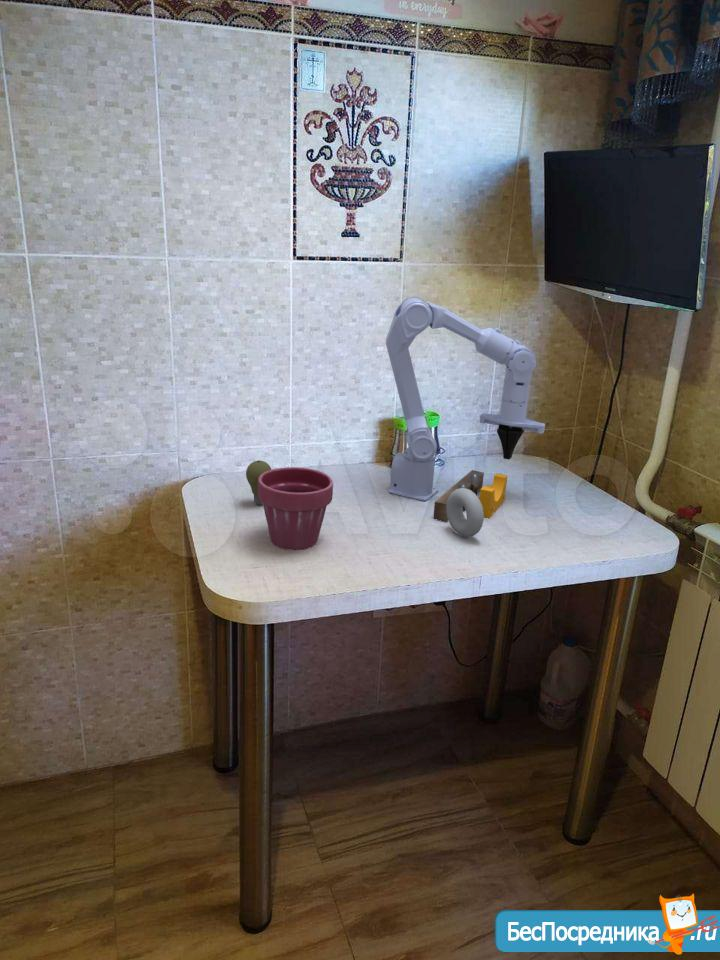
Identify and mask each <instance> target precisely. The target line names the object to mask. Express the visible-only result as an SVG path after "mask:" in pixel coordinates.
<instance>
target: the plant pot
mask: <svg viewBox="0 0 720 960" xmlns="http://www.w3.org/2000/svg"><path fill="white" fill-rule="evenodd" d="M333 491H334V481H333V478H331V476H330V475H328V474H327V473H325V472H323V471H320V470H317V469H313V468H307V467H299V466H298V467H297V466H296V467H295V466H289V467H280V468H279V467H277V468H273V469H272V470H269V471H266V472H264V473H263V474H261V475H260V476H259V479H258V499H259V500H260V501H261V502H262V503H263V504H262V507H263V510H264V516H265V520H266V524H267V528H268V531H269V532H268V533H269V538H270V542H271V543H272V545H274V546H275V547H277V548H279V549H282V550H286V551H287V550H288V551H302V550H307V549H309V548H312V547H314V546H315V545H316V544H317V543H318V539H319V537H320V532H321V529H322V525H323V522H324V518H325V514H326V509H327V506H328V505H329V504H331V502H332V501H333V497H334V496H333V495H334V492H333Z"/></svg>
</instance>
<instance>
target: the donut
mask: <svg viewBox="0 0 720 960" xmlns="http://www.w3.org/2000/svg"><path fill="white" fill-rule="evenodd" d="M463 506H464V508H465V513H466V517H465V515H464V512H463ZM446 513H447V518H448V521H447V522H448V523H449V526H450V527H451V529H452V530H453V531H454V532H455V533H456V534H457V535H458V536H461V537H464V538H471V537H474V536H476V535H477V534H478V533H479V532H480V531H481V530H482V527H483V524H484V519H485V518H484V512H483V507H482V504H481V502H480V500H479V496H478V495H477V496H476V494H475V493H473V492H472V491H471V490H469V489H465V488H460V489H456V490H455V491H453V492H452V493H451V494H450V496H449V498H448V500H447V505H446Z"/></svg>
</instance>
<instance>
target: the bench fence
mask: <svg viewBox="0 0 720 960" xmlns="http://www.w3.org/2000/svg"><path fill="white" fill-rule="evenodd" d="M484 475H485V472H482V471H477V470H473V469H472V470H470V471H469V472H468V473H467V474H466V475H464V476H463V477H462V478H461V479H459V480H458V481H457V482H456V483H455V484H454V485H453V486H451V487H450V488H448V490H446V491H445V492H444V493H443V494H442V495H441V496H440V497H438V498H437V499H436V500H435V501H434V506H433V520H435V519H437V521H440V520H441V521H440V522H444V521H445V523H447V522H449V521H448V518H447V513H446V505H447V500H448V498H449V496H450V494H451V493H452V492H453V491H455V490H456V489H460V488H465V489H469V490H471V491H472V492H473V493H475V494H476V496H477V497H478V495H479V494H478V493H480V490H481V488H482V487H484V485H483V484H484ZM464 512H466V510H465V508H464V506H463V513H464Z"/></svg>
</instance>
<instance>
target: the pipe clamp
mask: <svg viewBox="0 0 720 960" xmlns="http://www.w3.org/2000/svg"><path fill="white" fill-rule="evenodd" d="M508 477H509V476H508V475H506V474H501V473H497V472H496V473H495V474H494V475H493V481H492V485H491V484H489V485H488V484H487V485H486V486H482V488H481V490H480V491H479V496H478V498H479V500H480V502H481V504H482V507H483V512H484V519H487V518H488V520H489V519H491V517H492V516H493V515H494V514H493V513H494V512H495V513H496V511H497V510H498V509H499V508H500V507H501V506H502V505H503V504H504V503H505V499H506V493H507V492H506V490H507V482H508ZM500 505H501V506H500Z"/></svg>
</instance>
